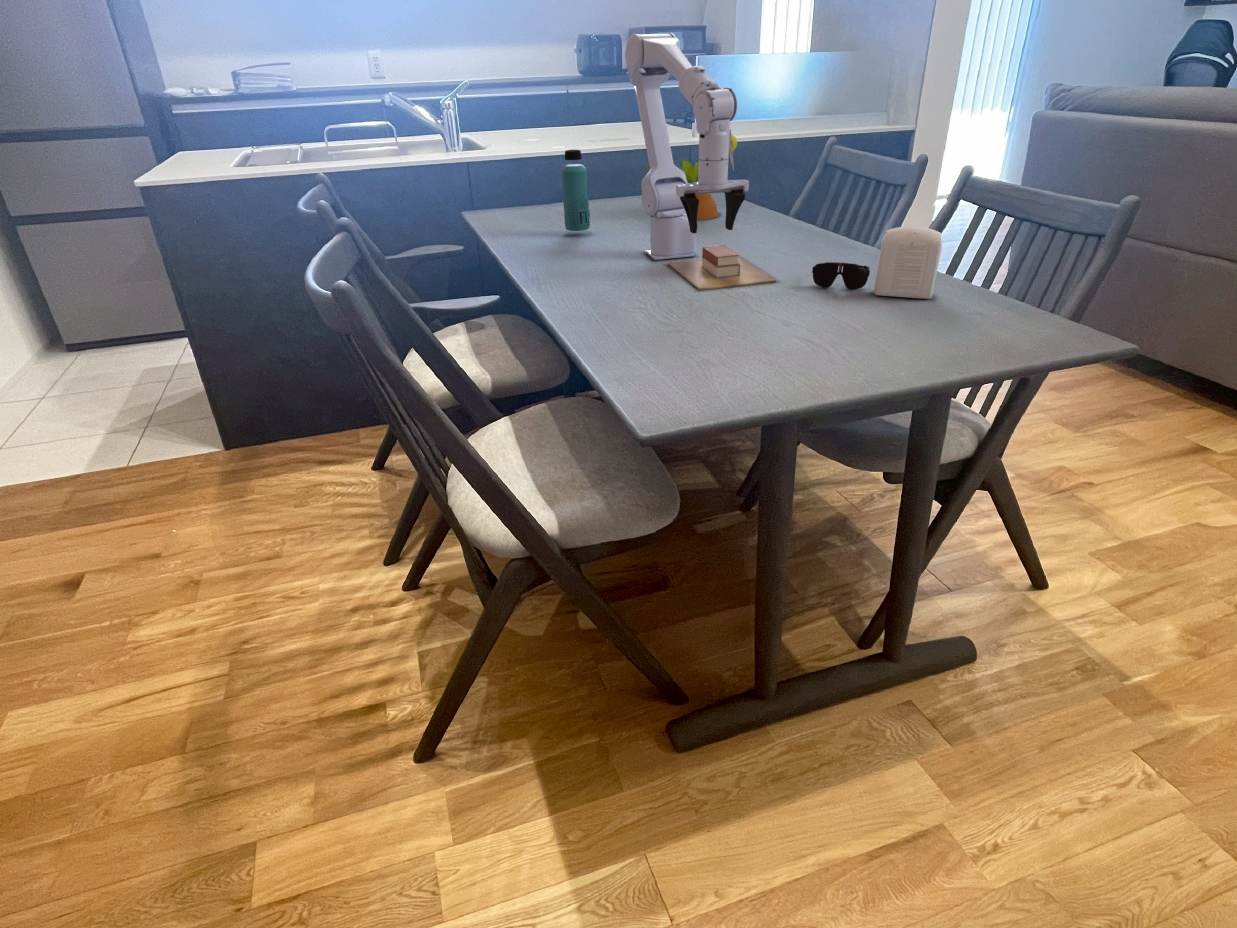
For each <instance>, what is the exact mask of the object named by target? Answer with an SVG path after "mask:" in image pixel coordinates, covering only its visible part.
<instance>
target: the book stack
mask: <svg viewBox="0 0 1237 928" xmlns="http://www.w3.org/2000/svg"><path fill="white" fill-rule="evenodd" d="M701 249H702V251H701V255H702V256H701V260H702V268H704V269H705V270H706V271H708V272H709V273H710V274H712V275H713V276H714V277H716V278H722V277H731V276H740V264H738V258H739V257H740V254H739V253H738V252H736V251H735V250H733V249H731V248H729V247H728V246H726V245H725V244H719V245H709V246H702V248H701Z"/></svg>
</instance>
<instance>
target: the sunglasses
mask: <svg viewBox="0 0 1237 928" xmlns="http://www.w3.org/2000/svg"><path fill="white" fill-rule="evenodd" d="M811 274H812V279H813V283H814V284H815V285H816V286H818V287H820V288H823V289H828V288H831V286H832V285H833V284H834V282H835V280H836V279H837V278H838V276H839V275H840V276H841V278H842V280H843V281H842V282H843V284H844V286H845V288H846V289H848V290H849V291H854V290H859V289H862V288H863V287H865V286H866V284H867V282H868V279H869V277H870V274H871V270H870V266H868V265H860V264H857V263H849V262H835V261H833V262H832V261H831V262H828V261H827V262H826V261H825V262H820V263H816V264H815V265H814V266H812V272H811Z"/></svg>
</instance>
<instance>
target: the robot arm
mask: <svg viewBox="0 0 1237 928" xmlns="http://www.w3.org/2000/svg"><path fill="white" fill-rule="evenodd" d="M624 51H625V52H624V59H625V64H626V69H627V74H628V78H629V83H630V84H631V85H633V86H634V93H635V97H636V102H637V107H638V113H639V118H640V123H641V128H642V133H643V139H644V145H645V149H646V154H647V159H648V160H647V161H648V165H650V168H649V169H650V170H648V172H647V173H646V174H645V176H643V178H642V179H641V182H640V185H641V204H642V207H643V210H644V211H645V212H646V214H647V216H649V219H650V220H649V221H650V223H649V224H650V249H645V250H644V251H645V253H646V254H647V256H650V258H652V259H653V260H654V261H660V260H667V259H668V260H670V259H671V260H672V259H679V258H691V257H696V254H695V234H697V232H698V220H697V212H698V205H699V200H698V199H697V198H696V196H695V195H697V194H709V193H711V194H721V193H724V198H725V222H724V224H725V225H724V226H725V230H728V231H733V229H734V226H735V225H734V224H735V221H736V218H737V215H738V212H739V210H740V208H741V206H742V204H743V203H744V201H745V199H746V193H745V192H749V191H750V189H749V188H750V181H749V180H748V179H746V178H745V179H728V177H729V176H728V175H729V158H730V154H729V133H730V129H731V122H732V121H733V120H734V119H735V117H736V115H737V112H738V100H737V96H736V93H735V92H734V90H733V88H731V87H723V86H720V85H718V83H717V82H716V80H714V79H713V78H712V77H711V75H709V74H708V72H706V68H705V67H704V65H692V64H691V63H690V61H689V60H688V59H687V57H686V56H685V55H684V53H683V51H681V42H680V39H679V38H678V37H677V36H676V35H675V33H674V32H667V33H649V34H648V33H646V34H638V33H632V34H631V35H630V36H629V38H628V40H627V42H626V46H625V50H624ZM670 76H672V77H674V78H675V79H676V80H677V81H678V90H679V92H680V94H681V95H682V96H684V98H685V99H686V100H687V101H688V103H690V105H691V106H692V110H693V116H694V119H695V121H696V123H695V124H696V132H697V134H698V135H699V136H698V162H699V167H698V182H693V183H688V182H687V180H686V176H685V173H684V172H683V171H682V169H681V168H679V167H678V166H676V165H675V163H674V159H673V152H672V148H671V142H670V137H669V131H668V126H667V121H666V115H665V110H664V105H663V98H662V94H661V93H662V92H661V87H662V85H663V84H664V83H666V82H667V81H668V80H669V78H670ZM705 190H707V191H705Z"/></svg>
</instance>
